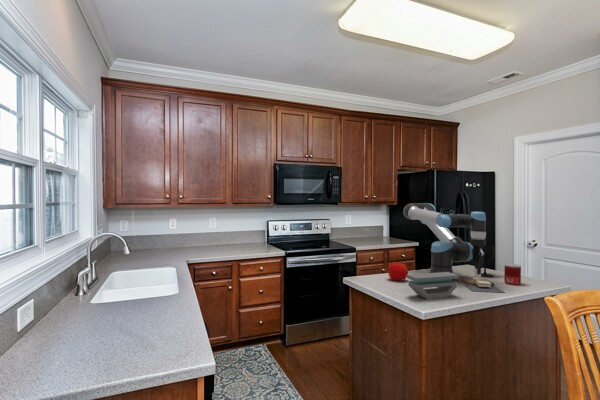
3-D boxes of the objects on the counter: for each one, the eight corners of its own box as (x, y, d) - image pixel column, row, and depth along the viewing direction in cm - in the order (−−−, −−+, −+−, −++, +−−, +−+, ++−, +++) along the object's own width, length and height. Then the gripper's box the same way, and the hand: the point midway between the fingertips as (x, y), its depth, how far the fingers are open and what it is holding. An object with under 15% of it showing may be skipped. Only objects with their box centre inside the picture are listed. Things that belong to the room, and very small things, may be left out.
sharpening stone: (447, 292, 171) (447, 271, 170) (458, 296, 163) (458, 275, 163) (406, 296, 164) (406, 274, 164) (415, 300, 156) (416, 278, 156)
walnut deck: (467, 285, 183) (467, 282, 183) (461, 281, 193) (461, 278, 193) (493, 287, 181) (493, 283, 181) (486, 282, 191) (486, 279, 191)
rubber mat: (472, 291, 172) (472, 290, 172) (465, 285, 183) (465, 285, 183) (504, 292, 170) (504, 292, 170) (495, 287, 181) (495, 286, 181)
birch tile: (490, 287, 176) (491, 283, 175) (479, 286, 176) (479, 283, 176) (483, 281, 184) (484, 277, 184) (472, 280, 185) (472, 277, 185)
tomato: (384, 278, 199) (384, 260, 199) (400, 277, 202) (400, 259, 202) (395, 283, 188) (395, 264, 188) (412, 282, 191) (412, 263, 191)
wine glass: (474, 276, 206) (475, 244, 206) (476, 273, 214) (477, 243, 214) (493, 278, 200) (494, 246, 200) (495, 275, 208) (495, 244, 208)
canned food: (523, 286, 183) (523, 266, 183) (507, 285, 185) (507, 266, 185) (517, 282, 191) (517, 264, 191) (502, 281, 193) (502, 263, 192)
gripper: (490, 240, 178) (489, 282, 179) (480, 237, 191) (480, 277, 191) (475, 239, 180) (475, 282, 180) (467, 237, 192) (466, 276, 193)
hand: (477, 279), depth 186 cm, fingers closed
